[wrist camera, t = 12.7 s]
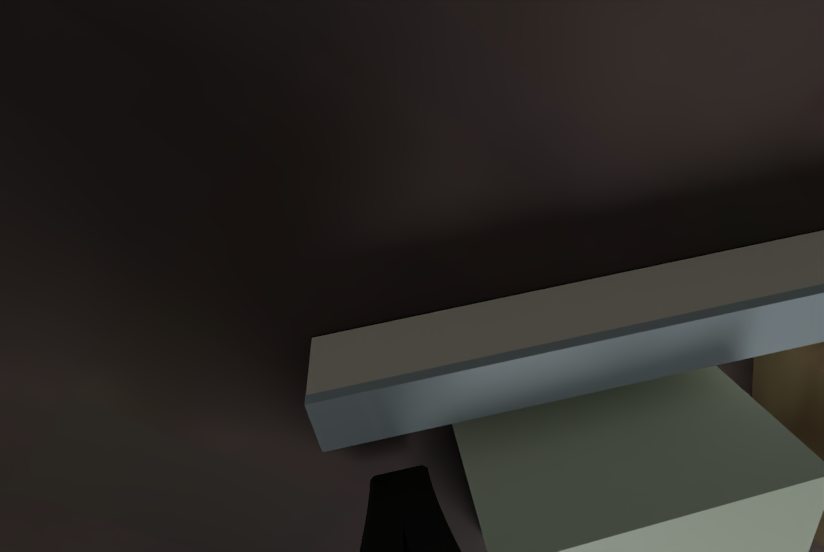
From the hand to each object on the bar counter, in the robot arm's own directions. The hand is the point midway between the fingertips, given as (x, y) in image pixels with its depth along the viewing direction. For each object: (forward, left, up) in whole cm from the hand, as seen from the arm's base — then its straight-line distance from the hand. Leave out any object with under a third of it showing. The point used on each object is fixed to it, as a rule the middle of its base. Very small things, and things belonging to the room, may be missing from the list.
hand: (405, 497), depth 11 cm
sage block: (-1, -5, -1) cm, 5 cm away
